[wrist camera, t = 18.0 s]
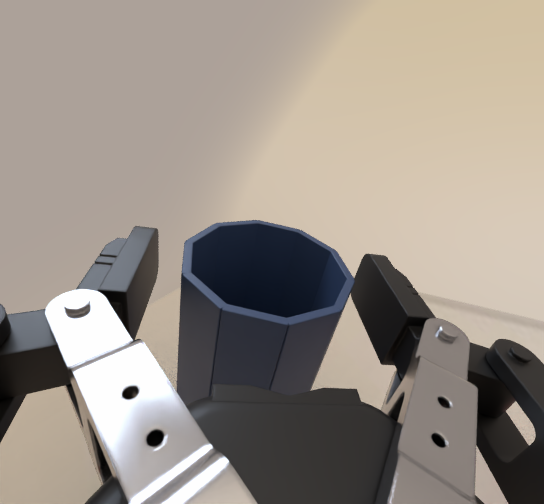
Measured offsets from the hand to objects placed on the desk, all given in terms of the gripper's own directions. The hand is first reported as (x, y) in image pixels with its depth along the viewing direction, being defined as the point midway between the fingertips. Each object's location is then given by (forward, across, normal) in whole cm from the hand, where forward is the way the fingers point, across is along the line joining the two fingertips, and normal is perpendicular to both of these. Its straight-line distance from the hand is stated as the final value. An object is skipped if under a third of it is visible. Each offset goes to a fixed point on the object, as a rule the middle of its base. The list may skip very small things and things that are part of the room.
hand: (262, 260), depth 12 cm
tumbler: (-1, 0, +11) cm, 11 cm away
